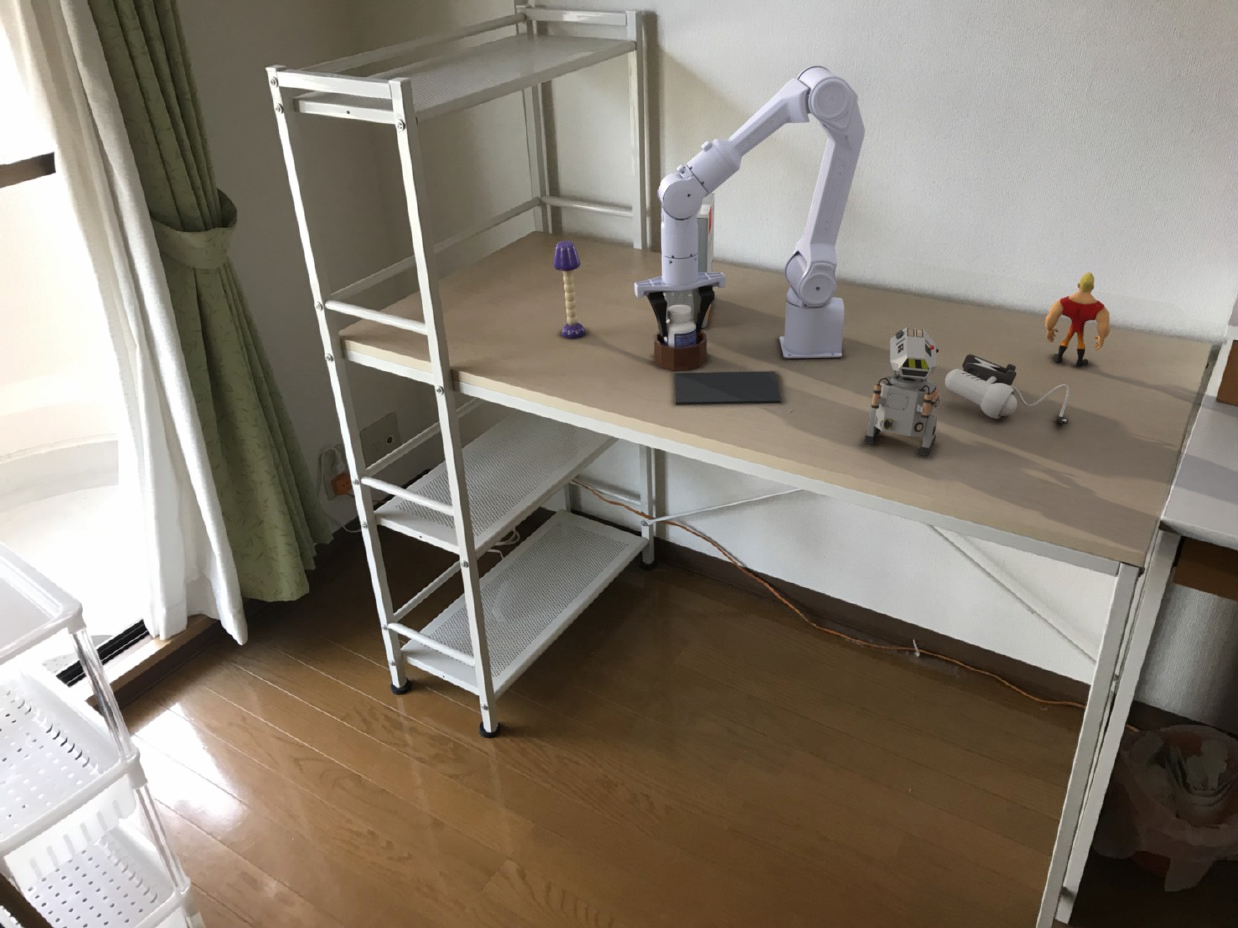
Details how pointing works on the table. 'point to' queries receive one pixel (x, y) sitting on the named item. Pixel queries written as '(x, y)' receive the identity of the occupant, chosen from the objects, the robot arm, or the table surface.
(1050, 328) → the action figure
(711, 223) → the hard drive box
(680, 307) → the pill bottle
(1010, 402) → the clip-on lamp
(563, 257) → the toy lamp
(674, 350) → the brown bowl
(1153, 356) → the table surface
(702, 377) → the mat
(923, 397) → the figurine
